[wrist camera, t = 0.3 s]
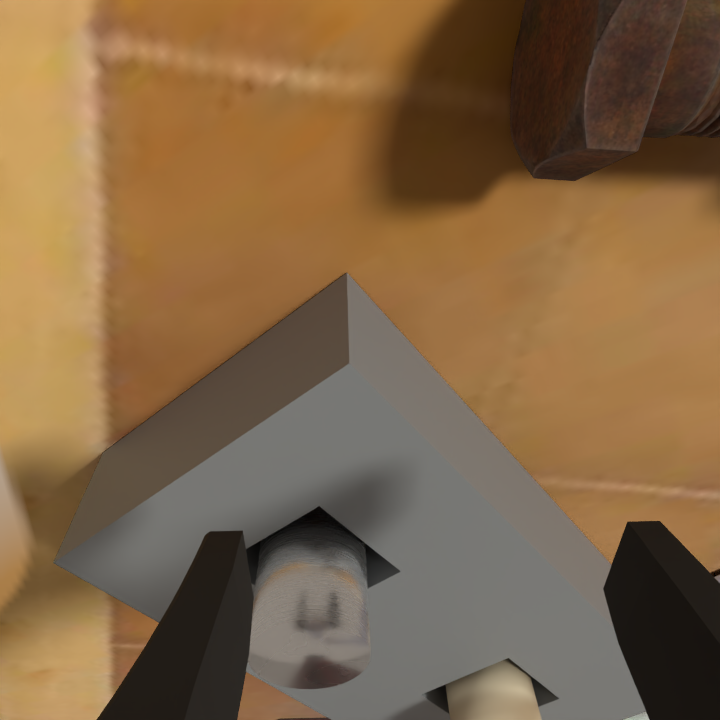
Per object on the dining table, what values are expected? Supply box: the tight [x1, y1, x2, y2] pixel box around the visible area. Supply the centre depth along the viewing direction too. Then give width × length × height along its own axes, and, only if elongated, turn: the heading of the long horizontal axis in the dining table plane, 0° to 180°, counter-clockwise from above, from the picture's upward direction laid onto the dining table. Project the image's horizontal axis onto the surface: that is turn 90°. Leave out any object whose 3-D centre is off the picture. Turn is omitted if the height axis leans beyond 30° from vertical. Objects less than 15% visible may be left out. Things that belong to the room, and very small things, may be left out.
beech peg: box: [445, 658, 542, 720], centre depth 24 cm, size 4×4×5 cm
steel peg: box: [248, 506, 371, 689], centre depth 19 cm, size 4×4×5 cm
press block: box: [53, 273, 646, 720], centre depth 24 cm, size 22×12×5 cm, turn 38°
